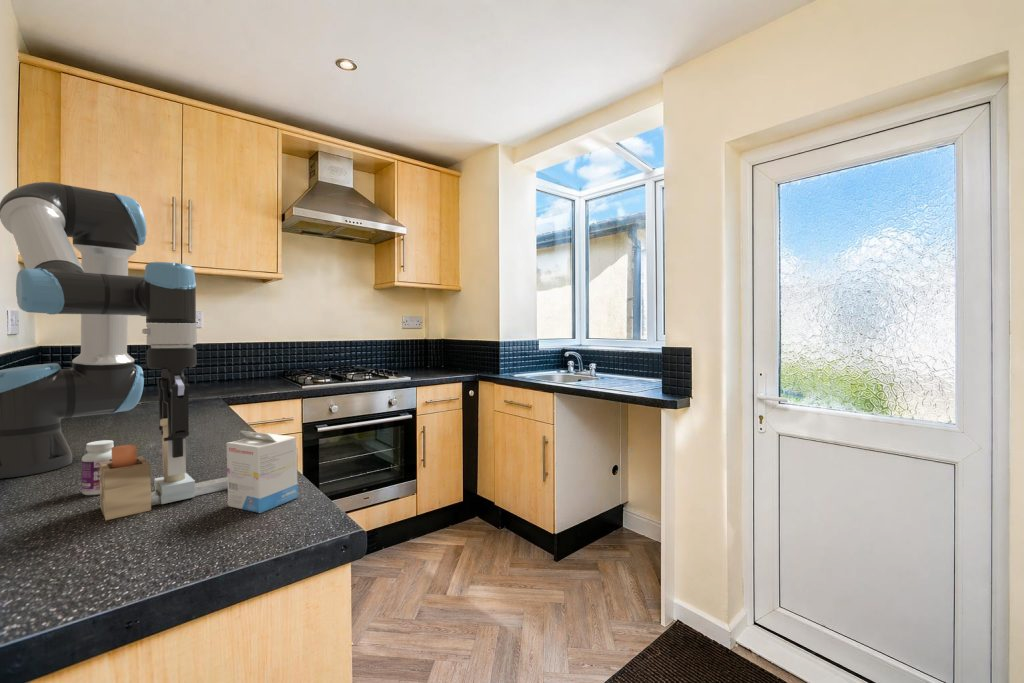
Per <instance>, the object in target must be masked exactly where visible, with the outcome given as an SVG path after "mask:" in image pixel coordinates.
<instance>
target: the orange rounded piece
mask: <svg viewBox="0 0 1024 683" xmlns="http://www.w3.org/2000/svg"><path fill="white" fill-rule="evenodd" d="M137 457H138V445H137V444H123V445H122V444H121V445H117V446H114V447H113V448H112V469H114V468H120V467H126V466H132V465H137Z"/></svg>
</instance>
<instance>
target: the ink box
mask: <svg viewBox="0 0 1024 683" xmlns="http://www.w3.org/2000/svg"><path fill="white" fill-rule="evenodd" d="M240 433H241V434H243V435H244V436H245V437H246V438H241V439H239V440H234V441H229V442H225V443H226V468H227V469H226V473H227V474H226V477H227V481H228V489H227V506H228V507H231V508H233V509H234V508H235V509H240V510H244V511H247V512H253V513H257V514H261V513H264V512H266V511H270V510H271V509H275V508H277V507H279V506H281V505H284V504H286V503H289V502H290V501H294V500H295V499H298V498H299V490H298V488H299V486H298V464H297V463H298V459H297V458H298V457H297V456H298V455H297V437H296V436H289V435H282V434H276V433H268V432H267V433H264V432H254V431H249V430H240Z"/></svg>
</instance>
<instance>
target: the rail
mask: <svg viewBox="0 0 1024 683" xmlns="http://www.w3.org/2000/svg"><path fill="white" fill-rule="evenodd" d="M225 490H228V481H227V476H225V477H224V476H223V477H220V478H214V479H209V480H204V481H200V482H195V489H194V496H195V497H198V496H201V495H206V494H211V493H215V492H221V491H225ZM157 505H162V504H161V503H160V493H159V491H155V490H154V491H151V507H152V506H157Z"/></svg>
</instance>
